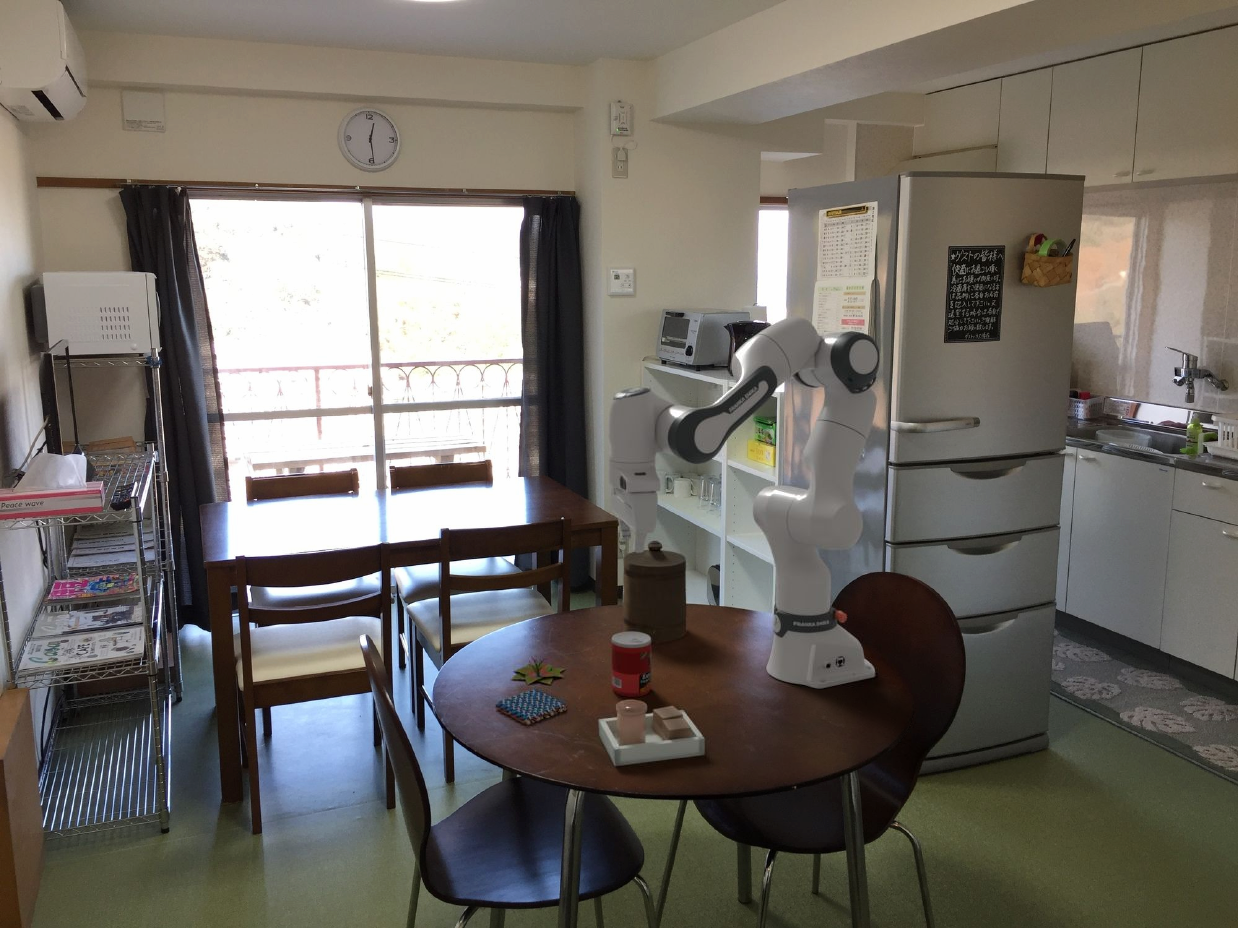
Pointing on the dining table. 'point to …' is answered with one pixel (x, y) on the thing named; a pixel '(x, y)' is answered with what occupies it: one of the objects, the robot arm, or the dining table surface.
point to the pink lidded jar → (631, 722)
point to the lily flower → (538, 672)
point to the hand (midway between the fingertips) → (631, 545)
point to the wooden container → (655, 593)
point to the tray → (650, 744)
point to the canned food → (631, 664)
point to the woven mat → (531, 706)
